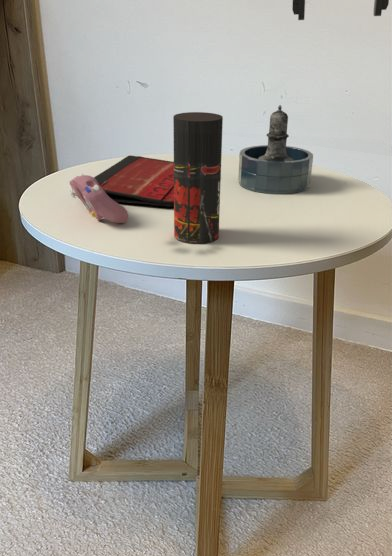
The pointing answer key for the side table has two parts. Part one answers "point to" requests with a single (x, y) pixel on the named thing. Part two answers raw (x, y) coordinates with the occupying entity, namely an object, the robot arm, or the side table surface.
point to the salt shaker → (277, 137)
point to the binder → (139, 181)
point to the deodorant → (197, 176)
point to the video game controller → (97, 199)
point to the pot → (275, 171)
